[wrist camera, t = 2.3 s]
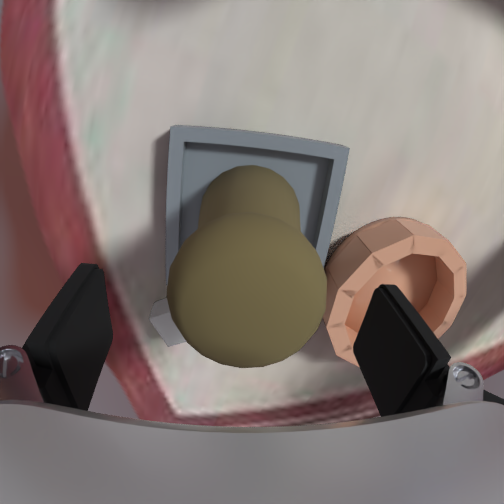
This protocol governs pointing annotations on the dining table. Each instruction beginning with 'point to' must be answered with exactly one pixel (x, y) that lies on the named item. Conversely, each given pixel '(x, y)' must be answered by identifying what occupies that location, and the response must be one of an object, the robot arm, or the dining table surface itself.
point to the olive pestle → (247, 273)
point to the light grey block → (165, 323)
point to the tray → (251, 153)
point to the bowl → (392, 277)
